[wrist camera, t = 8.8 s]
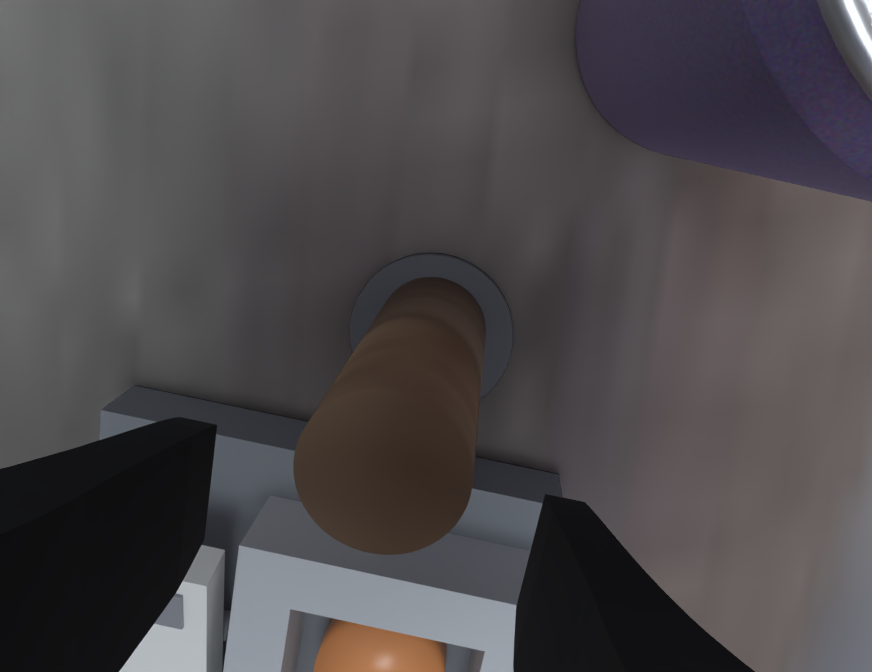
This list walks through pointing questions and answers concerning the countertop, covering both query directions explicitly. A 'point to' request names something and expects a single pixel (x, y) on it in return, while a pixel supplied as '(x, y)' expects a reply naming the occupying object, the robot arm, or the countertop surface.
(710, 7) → the beverage can
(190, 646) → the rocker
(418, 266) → the coaster
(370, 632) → the orange rounded piece
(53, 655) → the robot arm
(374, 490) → the dowel
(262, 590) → the grey fixture with socket
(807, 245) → the countertop surface
